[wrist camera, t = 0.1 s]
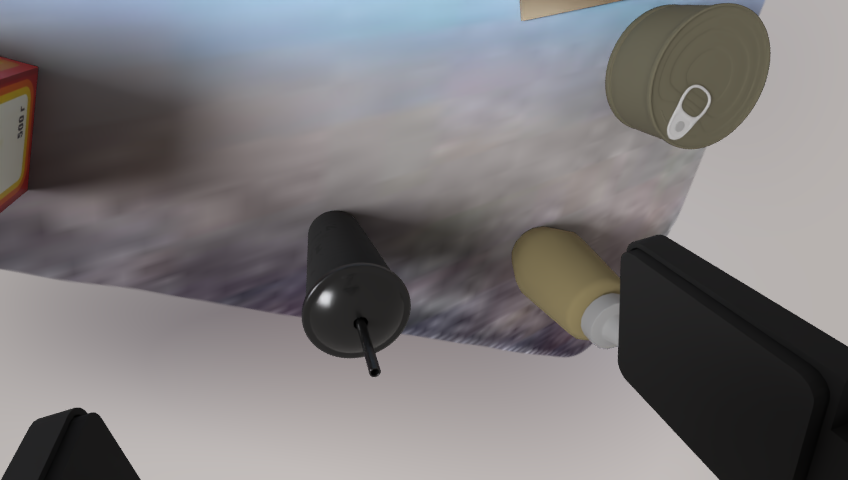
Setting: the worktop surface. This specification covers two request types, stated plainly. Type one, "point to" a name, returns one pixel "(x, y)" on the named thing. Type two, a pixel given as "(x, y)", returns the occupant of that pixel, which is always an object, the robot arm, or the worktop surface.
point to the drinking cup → (350, 292)
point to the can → (688, 72)
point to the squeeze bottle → (569, 284)
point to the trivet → (554, 7)
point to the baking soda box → (15, 127)
